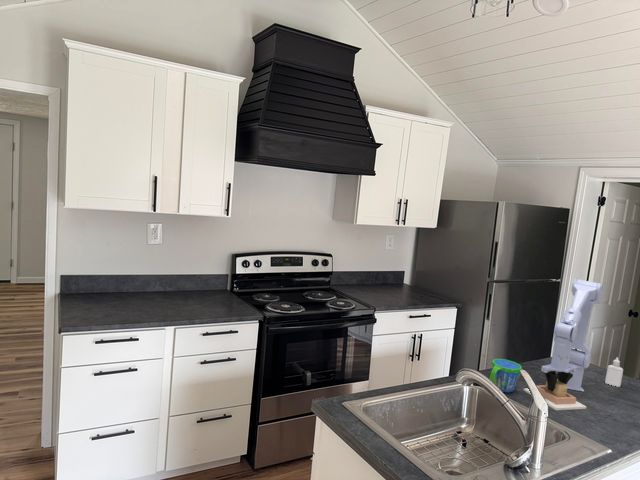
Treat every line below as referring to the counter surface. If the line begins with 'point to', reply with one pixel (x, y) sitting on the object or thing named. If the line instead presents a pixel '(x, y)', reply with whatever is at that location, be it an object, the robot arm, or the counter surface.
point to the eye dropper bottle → (614, 374)
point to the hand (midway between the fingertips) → (555, 390)
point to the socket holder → (559, 400)
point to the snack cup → (505, 374)
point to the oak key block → (558, 389)
